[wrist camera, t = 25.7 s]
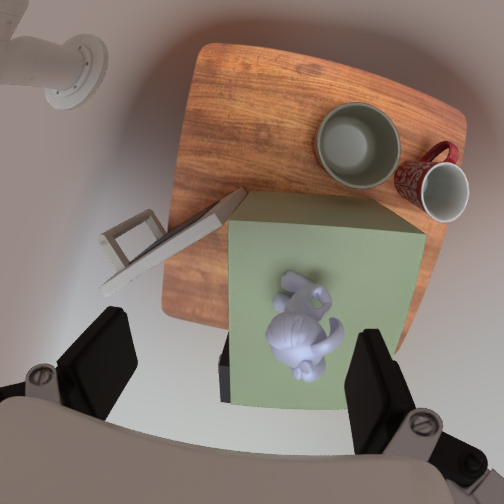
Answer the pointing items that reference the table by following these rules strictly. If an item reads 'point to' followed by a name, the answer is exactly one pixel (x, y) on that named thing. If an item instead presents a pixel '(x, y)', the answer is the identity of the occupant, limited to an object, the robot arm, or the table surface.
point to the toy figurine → (302, 328)
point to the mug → (435, 184)
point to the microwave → (319, 272)
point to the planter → (357, 145)
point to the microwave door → (162, 239)
